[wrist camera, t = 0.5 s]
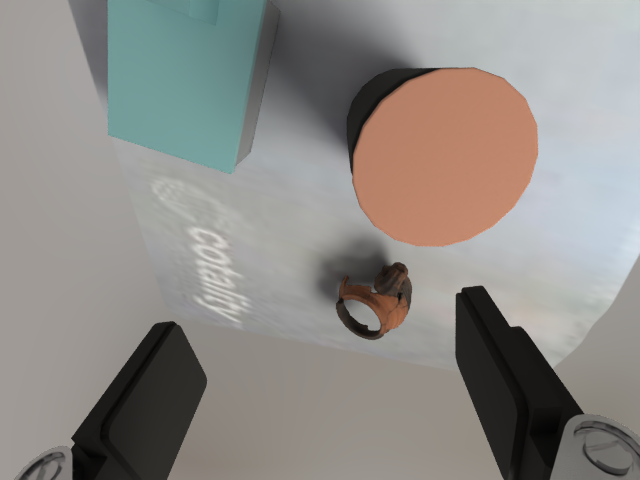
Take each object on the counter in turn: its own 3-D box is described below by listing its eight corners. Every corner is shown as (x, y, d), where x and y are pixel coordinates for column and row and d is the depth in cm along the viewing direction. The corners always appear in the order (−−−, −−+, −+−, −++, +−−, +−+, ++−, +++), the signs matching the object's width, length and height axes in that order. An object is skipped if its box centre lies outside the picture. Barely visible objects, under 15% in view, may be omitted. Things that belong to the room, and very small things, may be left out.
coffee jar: (338, 164, 37) (338, 235, 21) (356, 60, 32) (372, 51, 16) (429, 178, 37) (495, 258, 21) (460, 76, 32) (577, 83, 16)
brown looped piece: (402, 316, 48) (379, 357, 42) (349, 281, 50) (321, 315, 45) (440, 263, 40) (418, 305, 34) (374, 225, 42) (343, 258, 37)
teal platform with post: (128, -57, 24) (50, -103, 18) (272, -2, 26) (248, -27, 19) (124, 130, 31) (66, 146, 25) (238, 167, 32) (212, 192, 26)
